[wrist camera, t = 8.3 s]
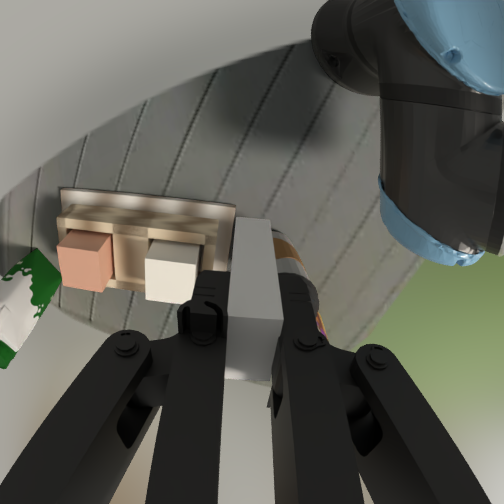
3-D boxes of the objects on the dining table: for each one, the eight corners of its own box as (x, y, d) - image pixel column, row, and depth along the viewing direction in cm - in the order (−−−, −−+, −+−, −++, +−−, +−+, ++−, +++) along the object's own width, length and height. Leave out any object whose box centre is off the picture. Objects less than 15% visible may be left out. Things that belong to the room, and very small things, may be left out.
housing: (235, 205, 42) (235, 223, 37) (223, 288, 49) (222, 313, 44) (63, 187, 39) (43, 202, 34) (71, 267, 46) (56, 288, 40)
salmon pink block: (116, 226, 40) (97, 252, 34) (118, 264, 42) (102, 292, 36) (79, 222, 39) (56, 246, 33) (82, 259, 42) (63, 285, 36)
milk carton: (48, 299, 49) (0, 377, 31) (16, 266, 45) (-42, 336, 27) (70, 277, 47) (17, 361, 29) (35, 240, 43) (-32, 314, 25)
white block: (201, 237, 41) (195, 264, 35) (198, 274, 44) (192, 305, 38) (157, 231, 40) (144, 258, 34) (156, 269, 43) (145, 299, 37)
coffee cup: (249, 278, 48) (255, 349, 35) (235, 230, 44) (236, 295, 31) (302, 265, 48) (325, 333, 34) (293, 216, 43) (317, 276, 30)
